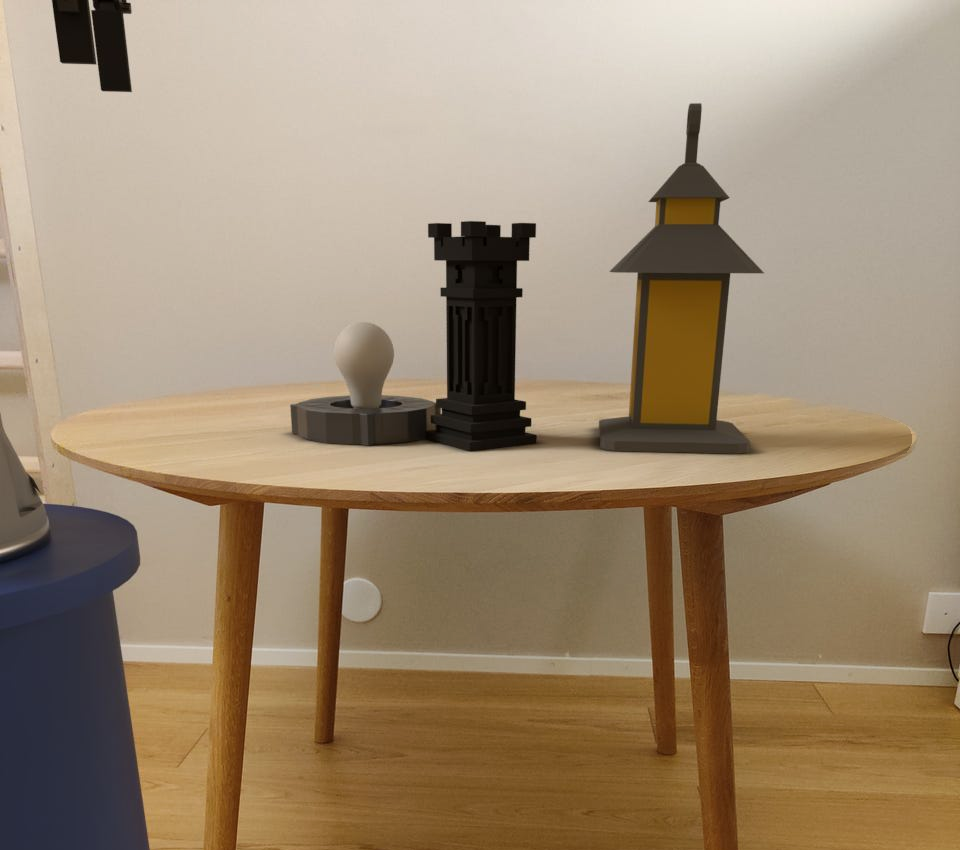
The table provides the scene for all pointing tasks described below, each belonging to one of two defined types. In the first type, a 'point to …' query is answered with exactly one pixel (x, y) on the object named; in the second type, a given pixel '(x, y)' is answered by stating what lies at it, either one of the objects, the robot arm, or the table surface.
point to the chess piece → (481, 336)
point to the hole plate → (363, 420)
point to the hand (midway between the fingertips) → (98, 78)
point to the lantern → (680, 318)
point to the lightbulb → (364, 362)
